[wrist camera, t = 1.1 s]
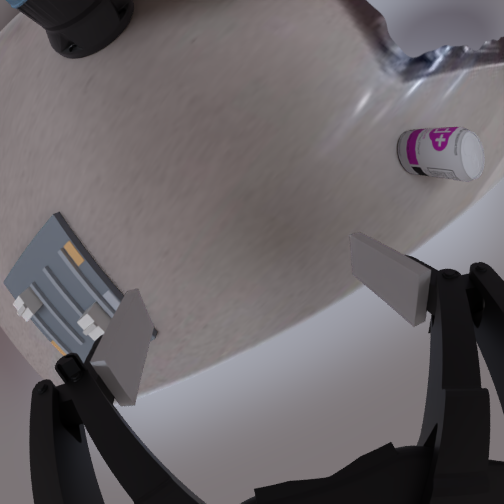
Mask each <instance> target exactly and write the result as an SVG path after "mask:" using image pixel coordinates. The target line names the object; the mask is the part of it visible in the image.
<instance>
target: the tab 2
mask: <svg viewBox="0 0 504 504" xmlns="http://www.w3.org/2000/svg"><path fill="white" fill-rule="evenodd" d="M111 319H112V318H111V317H110V316H109V315H108V314H107V313H106V312H105V311H104V310H103V309H102V308H101V306H100V305H99V304H98V303H97V302H95V303H93V304H92V305H91V306H90V307H89V308H88V309H87V310H86V311H85V312H84V313H83V315H82V316H81V317H80V319H79V320H78V322H77V323H78V324H79V325H80V327H81V328H82V329H83V330H84V331H83V333H84V334H85V335H86V336H87V335H89V336H90V337H91V338H92V339H93V340H94V341H95V340H96V339H98V338H99V337H100V336H101V335H103V334H104V333H105V331H106V329H107V327H108V325H109V323H110V321H111Z"/></svg>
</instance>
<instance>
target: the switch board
mask: <svg viewBox="0 0 504 504" xmlns="http://www.w3.org/2000/svg"><path fill="white" fill-rule="evenodd" d="M3 283H4V284H5V286H6V287H7V289H8V290H9V291H10V293H11V294H12V296H13V297H14V298H15V300H16V299H17V297H18V296H19V295H20V294H21V293H22V292H24V291H25V290H26V289H27V288H28V287H31V288H32V290H33V291H34V292H35V294H36V295H37V296H38V297H39V299H40V300H41V301H42V302H43V305H42V306H41V307H40V308H39V309H38V311H37V312H36V313H35V314H34V315H33V316H32V317H31V318H30V319H31V320H32V321H33V323H34V324H35V325H36V326H37V327H38V328H39V330H40V331H41V332H42V333H43V334H44V335H45V336H46V337H47V339H48V340H49V341H50V342H51V343H52V344H53V345H54V346H55V347H56V348H57V349H58V350H59V351H60V352H61V354H62V355H63V356H64V355H67V354H69V353H77V354H78V355H79V357H80V358H81V360H82V362H83V363H84V362H85V360H86V358H87V356H88V354H89V352H90V350H91V349H92V346H93V344H94V342H95V341H96V340H97V339H96V340H95V341H94V340H93V339H92V338H91V337H90V336H89V335H87V336H86V335H85V334H84V333H83V331H84V330H83V329H82V328H81V327H80V325H79V324H78V323H77V322H78V320H79V319H80V317H81V316H82V315H83V313H84V312H85V311H86V310H87V309H88V308H89V307H90V306H91V305H92V304H93V303H95V302H97V303H98V304H99V305H100V306H101V308H102V309H103V310H104V311H105V312H106V313H107V314H108V315H109V316H110V317H111V318H112V317H113V316H114V314H115V312H116V310H117V308H118V306H119V305H120V303H121V301H122V299H123V297H124V296H123V294H122V293H121V292H120V291H119V290H118V289H117V287H116V286H115V285H114V284H113V283H112V282H111V280H110V279H109V278H108V277H107V276H106V274H105V273H104V272H103V271H102V270H101V268H100V267H99V266H98V265H97V263H96V262H95V261H94V260H93V258H92V257H91V256H90V254H89V253H88V252H87V250H86V249H85V248H84V246H83V245H82V244H81V242H80V241H79V240H78V238H77V237H76V236H75V234H74V233H73V231H72V230H71V229H70V227H69V226H68V224H67V223H66V221H65V220H64V219H63V217H62V216H61V214H60V213H59V212H58V213H55V214H53V215H52V216H51V217H50V219H49V220H48V221H47V222H46V223H45V225H44V226H43V227H42V228H41V230H40V231H39V232H38V233H37V235H36V236H35V237H34V239H33V240H32V241H31V243H30V244H29V245H28V247H27V248H26V249H25V251H24V252H23V253H22V255H21V256H20V258H19V259H18V261H17V262H16V264H15V265H14V266H13V268H12V270H11V271H10V273H9V274H8V276H7V277H6V279H5V280H4V282H3ZM156 334H157V331H156V330H155V329H153V333H152V336H151V340H150V341H152V340H153V339H155V338H156Z"/></svg>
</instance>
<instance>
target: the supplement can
mask: <svg viewBox="0 0 504 504" xmlns="http://www.w3.org/2000/svg"><path fill="white" fill-rule="evenodd" d="M398 155H399V159H400V161H401V164H402V166H403V167H404V168H405V170H406V171H408V172H409V173H411V174H417V175H425V176H432V177H440V178H446V179H453V180H459V181H465V182H470V181H471V180H473V179H477V178H479V177H480V175H481V174H482V172H483V168H484V161H485V157H484V149H483V146H482V143H481V141H480V139H479V137H478V136H477V135H476V134H475V133H474V132H472V131H470V130H468V129H467V128H464V127H446V128H429V129H416V130H409V131H405V132H404V133H403V134H402V135H401V137H400V140H399V143H398Z"/></svg>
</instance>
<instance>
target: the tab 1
mask: <svg viewBox="0 0 504 504" xmlns="http://www.w3.org/2000/svg"><path fill="white" fill-rule="evenodd" d="M13 305H14V306H15V308H16V309H17V310H18V312H17V314H18V315H19V316H20V315H21V316H22V317H23V318H24V319H25V321H26V322H27V321H28V320H29V319H30V318H31V317H32V316H33V315H34V314H35V313H36V312H37V311H38V309H39V308H40V307H41V306H42V305H43V302H42V301H41V300H40V299H39V297H38V296H37V295H36V294H35V292H34V291H33V290H32V288H31V287H28V288H27V289H26V290H25V291H24V292H22V293H21V294H20V295H19V296H18V297H17V299H16V300H15V302H14V303H13Z"/></svg>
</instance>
